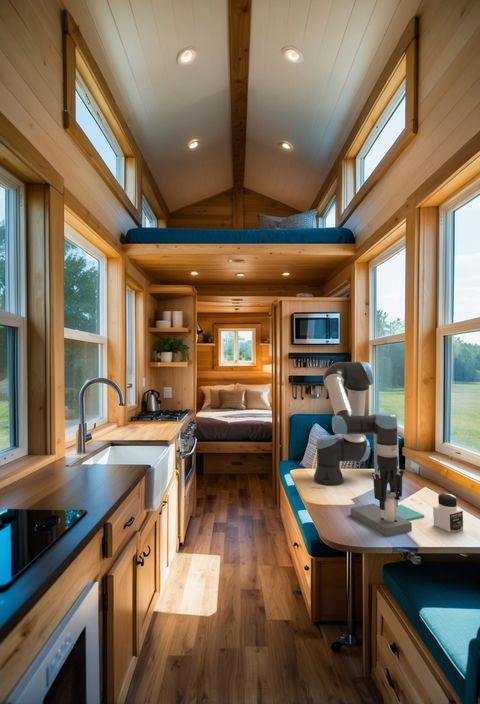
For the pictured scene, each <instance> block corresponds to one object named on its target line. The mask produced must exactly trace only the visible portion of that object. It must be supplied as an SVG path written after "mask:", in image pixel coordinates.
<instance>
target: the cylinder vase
mask: <svg viewBox="0 0 480 704" xmlns="http://www.w3.org/2000/svg"><path fill="white" fill-rule="evenodd" d="M397 440H398V441H399V431H398V430H397ZM399 450H400V449H398V455H396V456H397V457H398V466H397V468H398V469H399V470H400V461H399V460H400V457H399ZM377 455H378V454H377V440H376V434H373V458H374V459H373V464H374V469H373V470H374V473H376V472H378V464H377ZM383 480H384V479H383Z"/></svg>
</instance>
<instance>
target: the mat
mask: <svg viewBox="0 0 480 704" xmlns="http://www.w3.org/2000/svg"><path fill="white" fill-rule="evenodd" d="M397 516H399V517H401V518H403V519H405V520H407V521H409V522H410V521H413V520H417V519H422V518H425V514H423V513H420V512H418V511H416V510H414V509H412V508H409V507H407V506H405V505H403V504H398V507H397Z"/></svg>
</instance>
